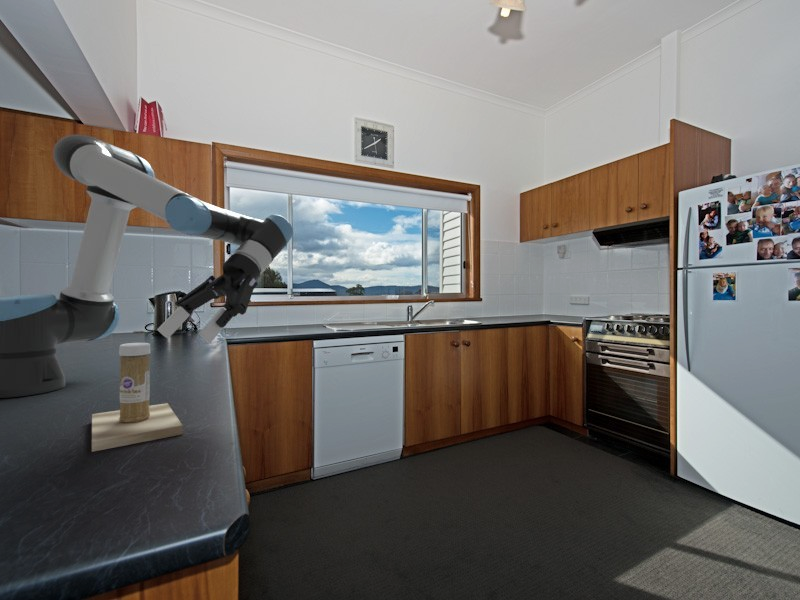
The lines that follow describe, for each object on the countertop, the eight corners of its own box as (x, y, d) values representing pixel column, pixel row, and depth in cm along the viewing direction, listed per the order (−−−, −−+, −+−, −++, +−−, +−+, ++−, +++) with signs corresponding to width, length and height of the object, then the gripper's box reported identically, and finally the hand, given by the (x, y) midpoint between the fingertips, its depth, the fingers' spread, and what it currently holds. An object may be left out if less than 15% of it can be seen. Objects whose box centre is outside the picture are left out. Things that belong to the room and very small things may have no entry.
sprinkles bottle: (114, 424, 65) (114, 345, 65) (125, 416, 70) (125, 342, 69) (145, 422, 67) (145, 344, 66) (154, 414, 71) (153, 341, 71)
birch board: (92, 422, 71) (92, 414, 71) (167, 410, 78) (167, 403, 78) (91, 451, 58) (91, 441, 58) (182, 434, 65) (182, 425, 65)
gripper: (295, 276, 84) (237, 353, 71) (221, 277, 96) (160, 343, 83) (277, 249, 79) (211, 326, 67) (202, 254, 92) (133, 320, 79)
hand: (182, 336), depth 75 cm, fingers open, 13 cm apart
